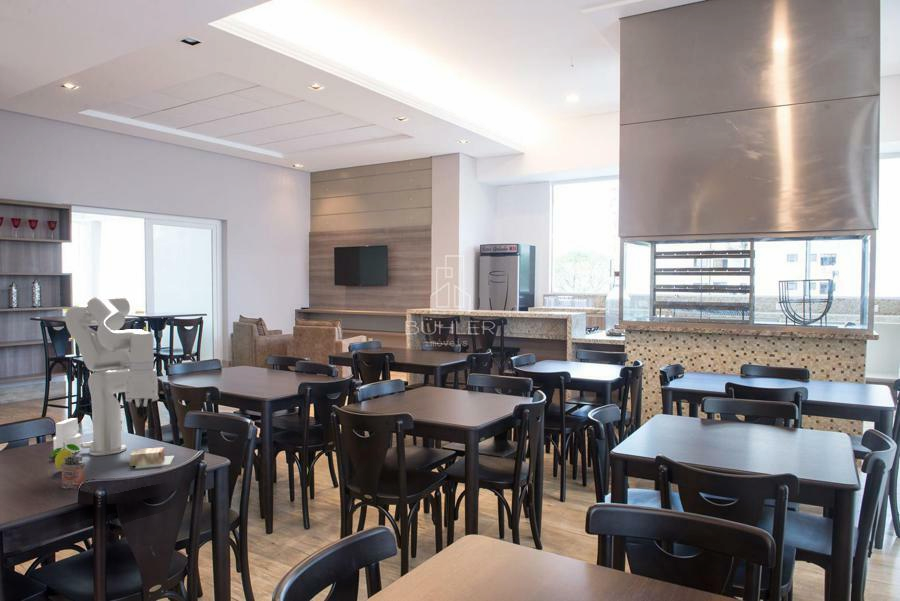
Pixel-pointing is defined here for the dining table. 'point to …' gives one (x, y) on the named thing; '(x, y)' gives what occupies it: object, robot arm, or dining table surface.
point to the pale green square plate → (165, 462)
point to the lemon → (63, 454)
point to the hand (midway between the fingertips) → (142, 416)
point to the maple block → (147, 456)
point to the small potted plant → (72, 472)
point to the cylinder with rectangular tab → (67, 434)
